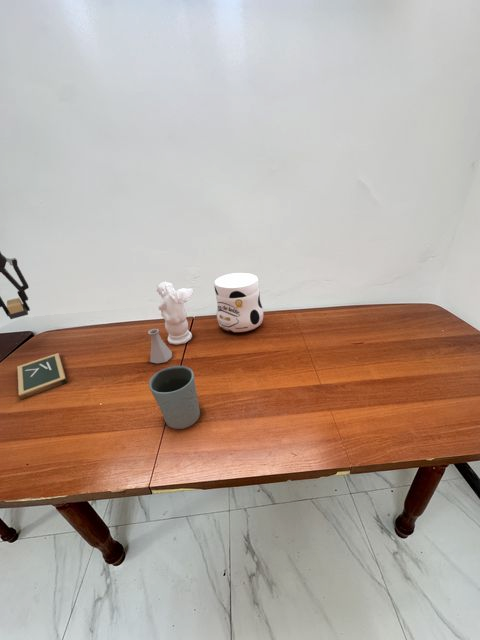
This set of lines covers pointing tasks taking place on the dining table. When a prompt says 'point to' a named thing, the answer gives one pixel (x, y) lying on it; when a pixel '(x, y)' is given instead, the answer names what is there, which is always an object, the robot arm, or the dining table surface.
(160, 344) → the flask
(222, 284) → the milk container
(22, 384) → the slate
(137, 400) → the dining table surface
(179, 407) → the grey cup
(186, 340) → the cherub figurine
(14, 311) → the eraser
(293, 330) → the dining table surface
